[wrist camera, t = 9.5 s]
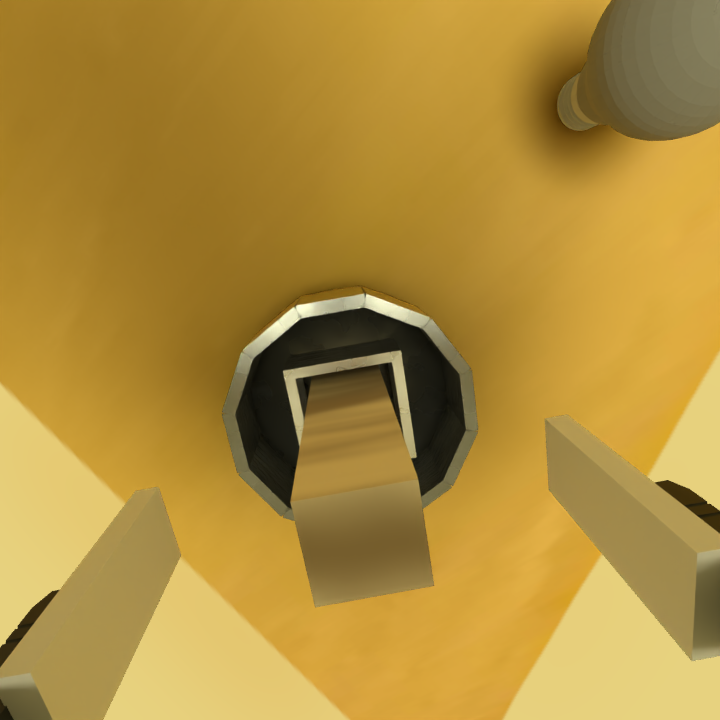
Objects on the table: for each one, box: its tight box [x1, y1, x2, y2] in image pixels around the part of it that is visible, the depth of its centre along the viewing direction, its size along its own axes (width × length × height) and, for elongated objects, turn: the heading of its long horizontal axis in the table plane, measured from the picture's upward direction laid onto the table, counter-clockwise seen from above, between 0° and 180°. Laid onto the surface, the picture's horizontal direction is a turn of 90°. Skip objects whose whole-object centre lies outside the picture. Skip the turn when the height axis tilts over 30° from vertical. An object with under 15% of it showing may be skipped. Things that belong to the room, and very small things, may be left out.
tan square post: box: [290, 364, 434, 607], centre depth 19 cm, size 4×4×13 cm
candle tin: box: [222, 286, 478, 521], centre depth 24 cm, size 12×12×4 cm
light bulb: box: [557, 0, 720, 141], centre depth 18 cm, size 6×6×10 cm
